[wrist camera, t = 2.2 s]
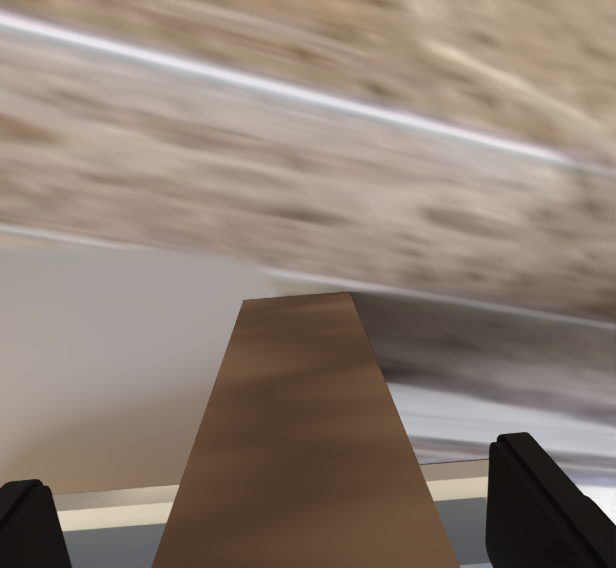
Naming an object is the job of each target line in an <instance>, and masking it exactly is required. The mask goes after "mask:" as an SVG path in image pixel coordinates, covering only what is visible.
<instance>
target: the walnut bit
mask: <svg viewBox="0 0 616 568" xmlns="http://www.w3.org/2000/svg"><path fill="white" fill-rule="evenodd" d="M151 568H460V565H459V563H458V560H457V558H456V556H455V553H454V551H453V548H452V546H451V543H450V541H449V538H448V536H447V533H446V531H445V528H444V526H443V523H442V521H441V518H440V516H439V513H438V511H437V508H436V506H435V503H434V501H433V498H432V496H431V493H430V491H429V488H428V486H427V483H426V481H425V479H424V476H423V474H422V471H421V469H420V466H419V464H418V461H417V459H416V456H415V454H414V451H413V449H412V446H411V444H410V441H409V439H408V436H407V434H406V431H405V429H404V426H403V424H402V421H401V419H400V416H399V414H398V411H397V409H396V406H395V404H394V402H393V399H392V397H391V394H390V392H389V389H388V387H387V384H386V382H385V379H384V377H383V374H382V372H381V369H380V367H379V364H378V362H377V359H376V357H375V354H374V352H373V349H372V347H371V344H370V342H369V339H368V337H367V334H366V332H365V329H364V327H363V325H362V322H361V320H360V317H359V315H358V312H357V310H356V307H355V305H354V302H353V300H352V297H351V295H350V292H339V293H326V294H313V295H300V296H287V297H275V298H263V299H250V300H243V303H242V306H241V309H240V312H239V315H238V317H237V320H236V323H235V326H234V329H233V332H232V335H231V338H230V341H229V344H228V347H227V349H226V352H225V355H224V358H223V361H222V364H221V367H220V370H219V372H218V375H217V378H216V381H215V384H214V387H213V390H212V393H211V396H210V399H209V401H208V404H207V407H206V410H205V413H204V416H203V419H202V422H201V425H200V427H199V430H198V433H197V436H196V439H195V442H194V445H193V448H192V451H191V454H190V456H189V459H188V462H187V465H186V468H185V471H184V474H183V477H182V480H181V482H180V485H179V488H178V491H177V494H176V497H175V500H174V503H173V506H172V508H171V511H170V514H169V517H168V520H167V523H166V526H165V529H164V532H163V535H162V537H161V540H160V543H159V546H158V549H157V552H156V555H155V558H154V561H153V563H152V566H151Z"/></svg>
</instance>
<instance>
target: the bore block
mask: <svg viewBox="0 0 616 568" xmlns="http://www.w3.org/2000/svg"><path fill="white" fill-rule="evenodd" d="M419 466H420V469H421V471H422V474H423V476H424V479H425V481H426V483H427V486H428V488H429V491H430V493H431V496H432V498H433V501H434V503H435V506H436V508H437V511H438V513H439V516H440V518H441V521H442V523H443V526H444V528H445V531H446V533H447V536H448V538H449V541H450V543H451V546H452V548H453V551H454V553H455V556H456V558H457V560H458V563H459V565H460V568H493V566H492V564H491V562H490V560H489V558H488V555H487V551H486V545H485V534H486V513H487V491H488V470H489V460H477V461H465V462H452V463H440V464H428V465H419ZM178 488H179V485H169V486H156V487H144V488H131V489H119V490H106V491H94V492H83V493H82V492H81V493H70V494H57V495H52V496H53V499H54V503H55V507H56V510H57V514H58V518H59V521H60V525H61V528H62V532H63V536H64V539H65V543H66V546H67V550H68V554H69V557H70V561H71V565H72V568H151V566H152V563H153V561H154V558H155V555H156V552H157V549H158V546H159V543H160V540H161V537H162V535H163V532H164V529H165V526H166V523H167V520H168V517H169V514H170V511H171V508H172V506H173V503H174V500H175V497H176V494H177V491H178Z"/></svg>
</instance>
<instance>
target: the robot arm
mask: <svg viewBox="0 0 616 568" xmlns="http://www.w3.org/2000/svg"><path fill="white" fill-rule="evenodd" d="M485 545H486V551H487V555H488V558H489V560H490V562H491V564H492V566H493V568H616V525H615V524H614V523H613V522H612V521H611V520H610V519H609V518H608V516H607V515H606V514H605V513H604V512H603V511H602V510H601V509H600V508H599V506H598V505H597V504H596V503H595V502H594V501H593V500H591V499H590V498H589V497H587V496H585V495H584V494H583V493H582V492H581V491H580V490H579V489H578V488H577V487H576V485H575V484H574V483H573V482H572V481H571V480H570V479H569V478H568V476H567V475H566V474H565V473H564V472H563V471H562V470H561V469H560V467H559V466H558V465H557V464H556V463H555V462H554V461H553V460H552V458H551V457H550V456H549V455H548V454H547V453H546V452H545V451H544V449H543V448H542V447H541V446H540V445H539V444H538V443H537V442H536V441H535V439H534V438H533V437H532V436H531V435H530V434H529V433H526V432H521V433H511V434H501V435H499V436H498V438H497V442H492V443H491V444H490V449H489V470H488V491H487V513H486V534H485ZM0 568H72V565H71V561H70V557H69V554H68V550H67V546H66V543H65V539H64V536H63V532H62V528H61V525H60V521H59V518H58V514H57V510H56V507H55V503H54V499H53V496H52V492H51V490H50V488H49V487H48V486H43V483H42V482H41V481H40V480H38V479H32V480H22V481H12V482H8V483H5V484H4V485H3V486H2V487H1V488H0Z"/></svg>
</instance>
